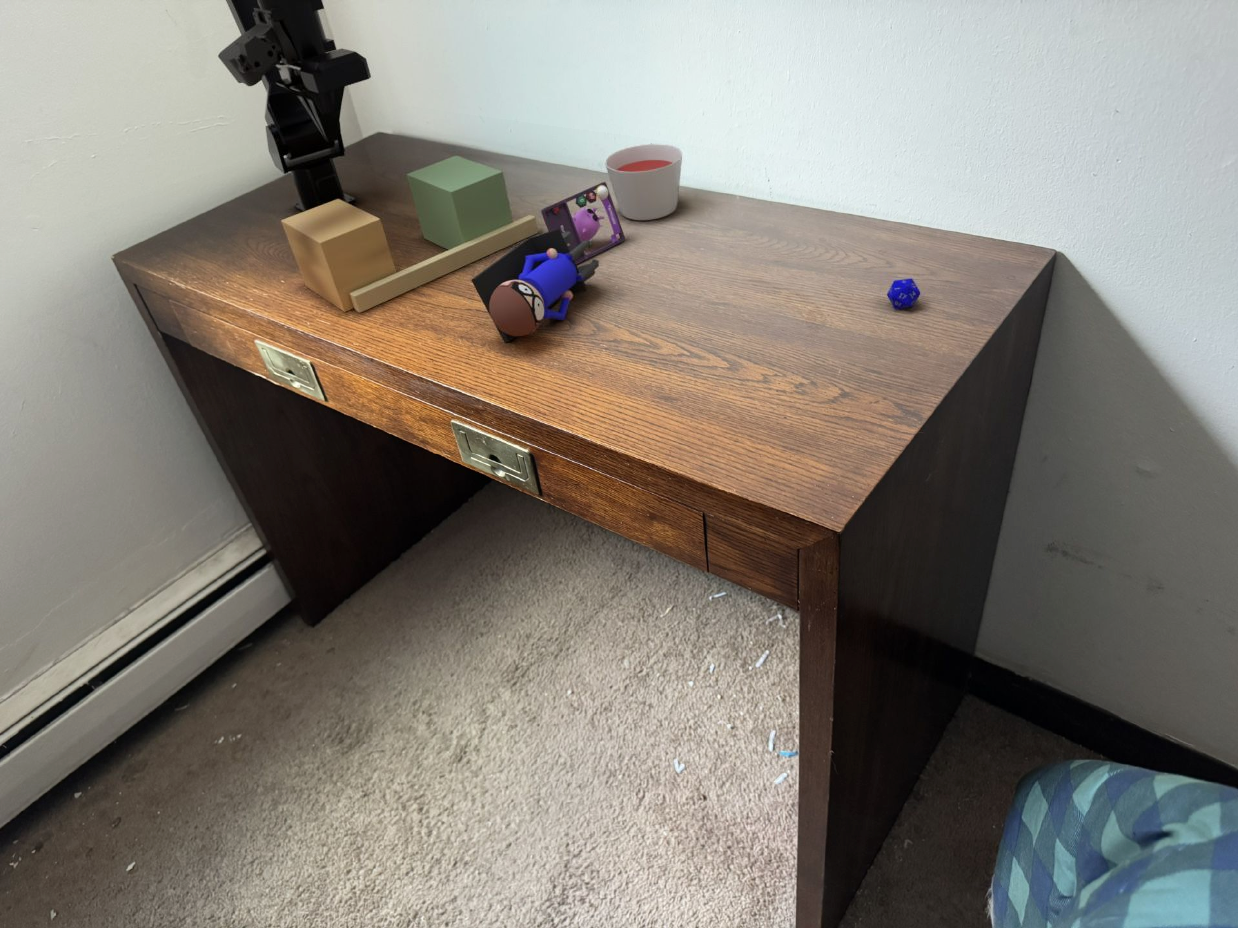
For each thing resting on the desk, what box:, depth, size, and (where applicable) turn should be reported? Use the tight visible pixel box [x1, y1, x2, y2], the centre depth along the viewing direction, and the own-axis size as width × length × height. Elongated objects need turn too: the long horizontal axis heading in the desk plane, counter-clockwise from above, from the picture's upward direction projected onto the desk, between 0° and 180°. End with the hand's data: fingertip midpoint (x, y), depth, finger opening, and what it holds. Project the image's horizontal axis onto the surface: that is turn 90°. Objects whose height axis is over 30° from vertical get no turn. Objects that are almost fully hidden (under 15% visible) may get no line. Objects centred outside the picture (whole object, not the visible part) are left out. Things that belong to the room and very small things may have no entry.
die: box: [886, 278, 921, 310], centre depth 79 cm, size 3×3×3 cm
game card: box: [540, 181, 626, 265], centre depth 97 cm, size 7×5×9 cm
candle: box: [604, 143, 683, 221], centre depth 103 cm, size 9×9×6 cm
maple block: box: [280, 199, 397, 313], centre depth 95 cm, size 10×7×8 cm
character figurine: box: [470, 229, 600, 343], centre depth 84 cm, size 8×7×15 cm
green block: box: [406, 155, 514, 251], centre depth 102 cm, size 10×7×8 cm
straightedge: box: [350, 214, 539, 314], centre depth 98 cm, size 1×24×2 cm, turn 131°
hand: (331, 141), depth 101 cm, fingers closed
